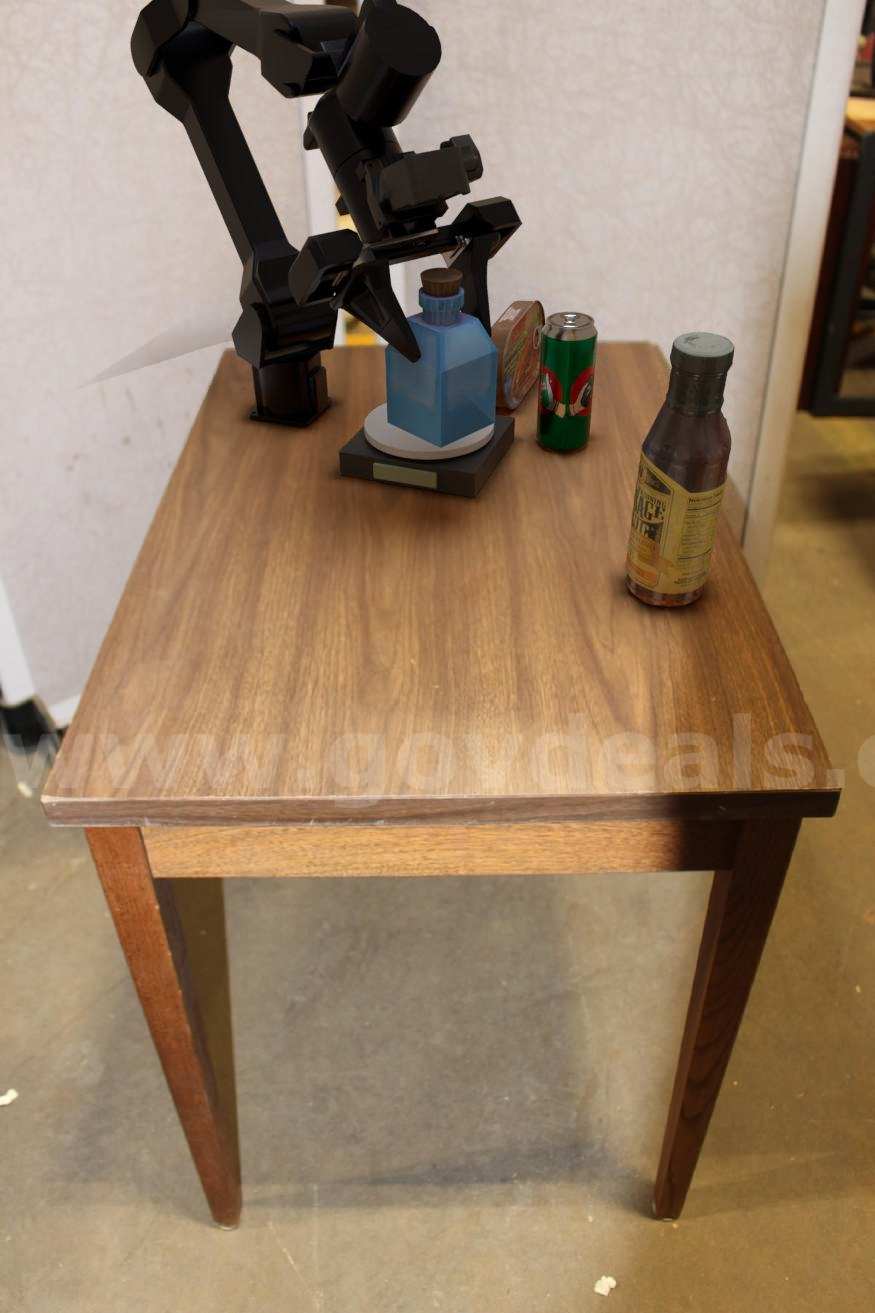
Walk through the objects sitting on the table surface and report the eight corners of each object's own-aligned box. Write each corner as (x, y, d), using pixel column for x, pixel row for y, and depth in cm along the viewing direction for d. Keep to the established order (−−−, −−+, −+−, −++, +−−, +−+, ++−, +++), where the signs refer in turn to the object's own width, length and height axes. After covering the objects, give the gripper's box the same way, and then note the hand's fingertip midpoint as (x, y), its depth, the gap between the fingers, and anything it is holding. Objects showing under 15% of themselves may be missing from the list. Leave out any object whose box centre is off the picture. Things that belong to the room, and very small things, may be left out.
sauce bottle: (615, 569, 85) (642, 323, 72) (692, 565, 85) (732, 319, 73) (634, 617, 79) (666, 360, 67) (716, 612, 80) (763, 356, 68)
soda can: (588, 431, 104) (598, 310, 97) (589, 455, 100) (599, 330, 93) (536, 430, 105) (542, 308, 97) (535, 453, 101) (541, 329, 93)
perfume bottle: (440, 447, 83) (440, 295, 76) (387, 422, 87) (382, 274, 79) (494, 422, 87) (500, 274, 79) (441, 399, 90) (441, 255, 83)
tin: (506, 422, 106) (508, 340, 101) (476, 418, 107) (476, 336, 102) (547, 366, 117) (551, 289, 112) (519, 363, 118) (522, 286, 113)
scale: (338, 476, 97) (335, 440, 95) (390, 421, 107) (388, 387, 104) (473, 499, 94) (473, 462, 92) (514, 440, 103) (515, 405, 101)
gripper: (294, 113, 71) (392, 327, 70) (512, 81, 79) (600, 271, 79) (250, 209, 80) (336, 397, 80) (448, 171, 89) (526, 340, 89)
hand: (452, 349), depth 82 cm, fingers closed on perfume bottle, 6 cm apart
